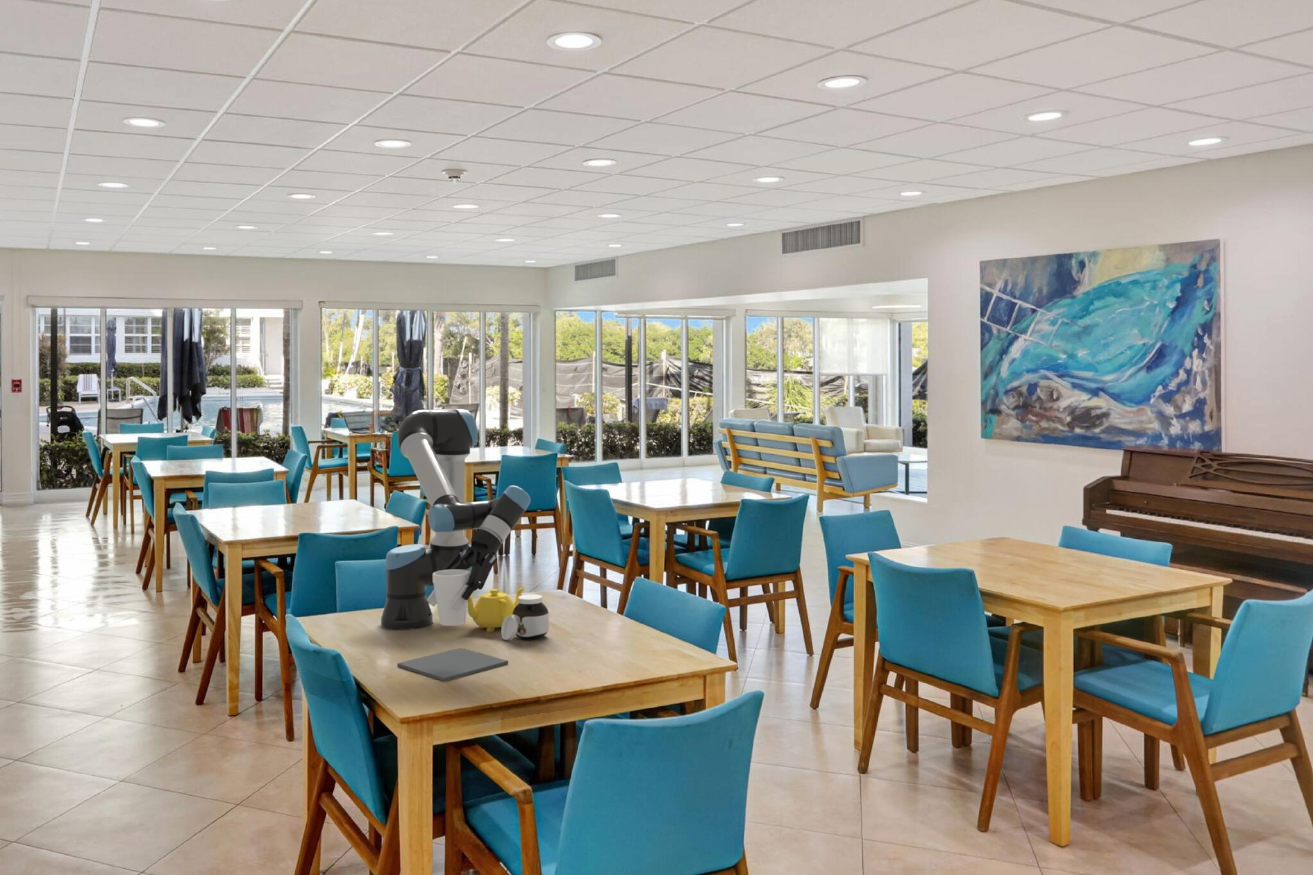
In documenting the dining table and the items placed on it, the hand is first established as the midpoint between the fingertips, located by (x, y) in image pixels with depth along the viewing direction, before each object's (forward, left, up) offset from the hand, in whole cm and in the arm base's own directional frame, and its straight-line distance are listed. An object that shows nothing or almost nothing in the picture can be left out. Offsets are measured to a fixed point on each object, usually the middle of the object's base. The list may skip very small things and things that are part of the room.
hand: (442, 606), depth 261 cm
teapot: (-22, +35, -16) cm, 45 cm away
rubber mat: (0, +3, -16) cm, 16 cm away
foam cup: (0, +3, -5) cm, 6 cm away
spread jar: (-7, +33, -16) cm, 38 cm away
